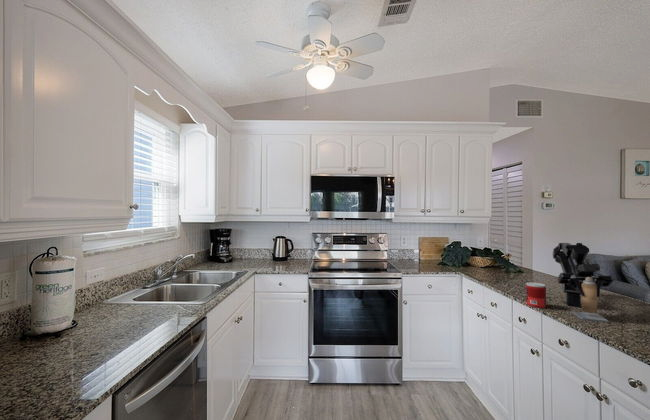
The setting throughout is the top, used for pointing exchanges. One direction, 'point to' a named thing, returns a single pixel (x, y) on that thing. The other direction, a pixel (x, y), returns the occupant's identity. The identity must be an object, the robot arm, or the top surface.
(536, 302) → the canned food
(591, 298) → the pepper mill
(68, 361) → the top surface
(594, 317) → the plate
